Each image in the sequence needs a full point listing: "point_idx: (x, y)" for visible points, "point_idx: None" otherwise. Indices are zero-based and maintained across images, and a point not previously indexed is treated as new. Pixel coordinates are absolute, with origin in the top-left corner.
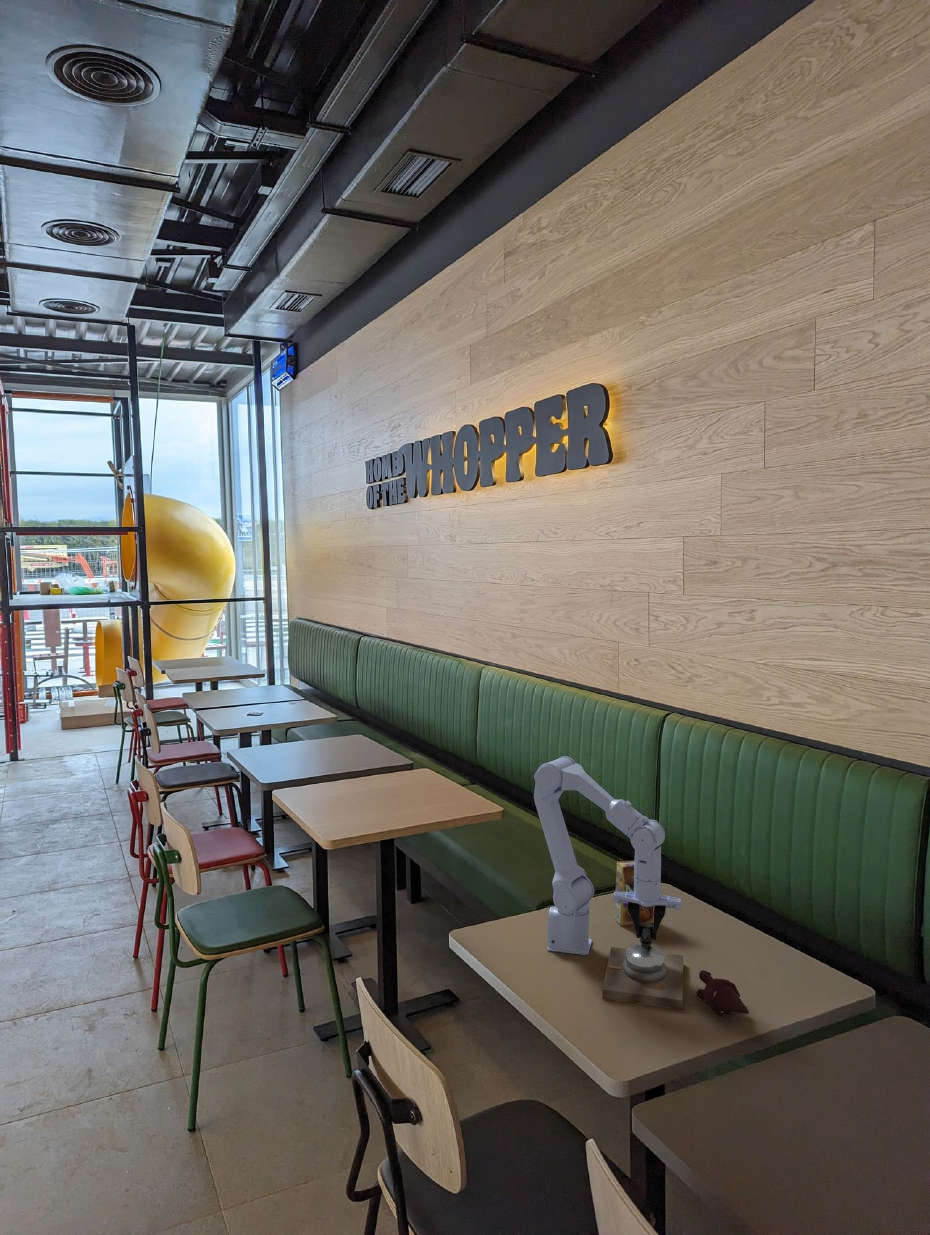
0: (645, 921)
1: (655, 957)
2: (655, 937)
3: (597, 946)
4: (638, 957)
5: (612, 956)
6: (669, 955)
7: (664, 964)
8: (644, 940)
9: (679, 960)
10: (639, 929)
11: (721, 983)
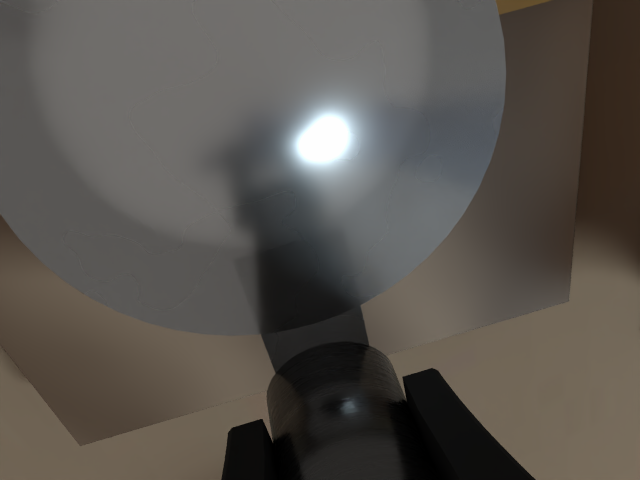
0: None
1: (74, 106)
2: (229, 454)
3: (618, 312)
4: None
5: (554, 182)
6: (165, 402)
7: None
8: (343, 372)
9: (64, 384)
10: (445, 467)
11: None
